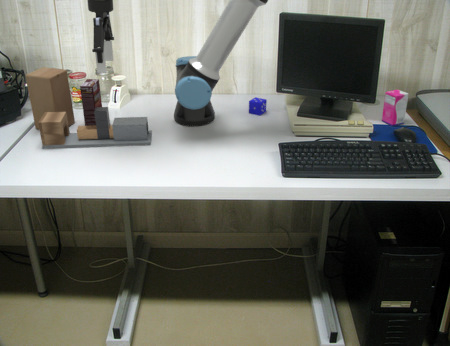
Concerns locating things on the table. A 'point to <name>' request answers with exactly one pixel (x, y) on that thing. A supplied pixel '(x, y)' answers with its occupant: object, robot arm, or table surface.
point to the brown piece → (97, 126)
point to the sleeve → (130, 129)
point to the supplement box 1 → (90, 100)
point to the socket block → (54, 128)
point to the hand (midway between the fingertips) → (105, 66)
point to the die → (257, 106)
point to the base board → (97, 142)
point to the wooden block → (49, 93)
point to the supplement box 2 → (394, 107)
